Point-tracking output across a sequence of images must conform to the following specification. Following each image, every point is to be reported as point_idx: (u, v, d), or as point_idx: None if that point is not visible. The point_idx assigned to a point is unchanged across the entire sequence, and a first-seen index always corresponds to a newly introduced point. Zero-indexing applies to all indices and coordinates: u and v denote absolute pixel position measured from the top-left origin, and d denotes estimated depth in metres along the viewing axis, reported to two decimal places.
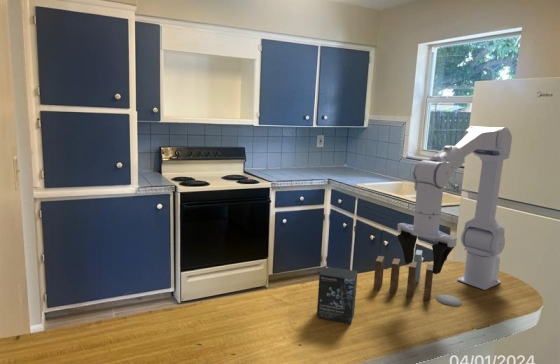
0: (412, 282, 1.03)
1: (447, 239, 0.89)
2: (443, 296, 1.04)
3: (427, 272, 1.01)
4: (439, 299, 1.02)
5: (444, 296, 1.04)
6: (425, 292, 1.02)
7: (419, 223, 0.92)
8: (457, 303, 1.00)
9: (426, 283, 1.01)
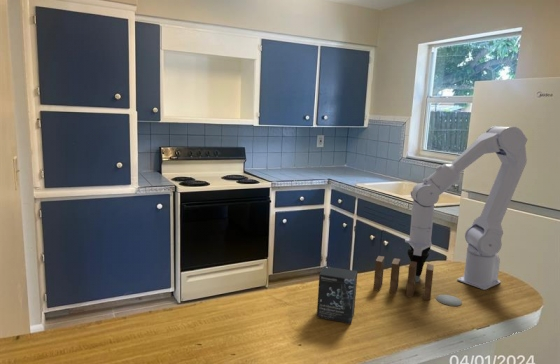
0: (412, 282, 1.03)
1: (413, 248, 1.08)
2: (443, 296, 1.04)
3: (427, 272, 1.01)
4: (439, 299, 1.02)
5: (444, 296, 1.04)
6: (425, 292, 1.02)
7: (410, 232, 1.14)
8: (457, 303, 1.00)
9: (426, 283, 1.01)
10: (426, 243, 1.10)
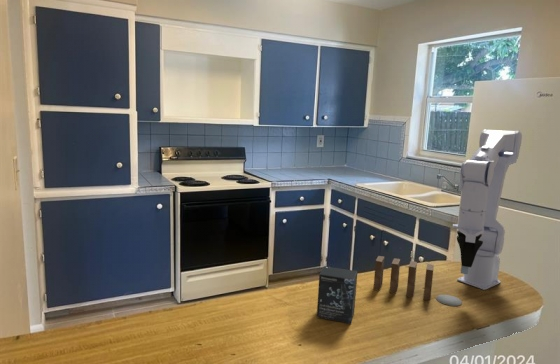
0: (412, 282, 1.03)
1: (465, 234, 0.93)
2: (443, 296, 1.04)
3: (427, 272, 1.01)
4: (439, 299, 1.02)
5: (444, 296, 1.04)
6: (425, 292, 1.02)
7: None
8: (457, 303, 1.00)
9: (426, 283, 1.01)
10: (479, 229, 0.96)
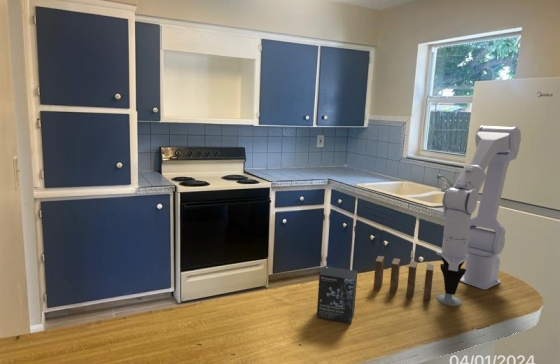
0: (412, 282, 1.03)
1: (448, 262, 0.95)
2: (443, 296, 1.04)
3: (427, 272, 1.01)
4: (439, 299, 1.02)
5: (444, 296, 1.04)
6: (425, 292, 1.02)
7: None
8: (457, 303, 1.00)
9: (426, 283, 1.01)
10: (462, 256, 0.97)
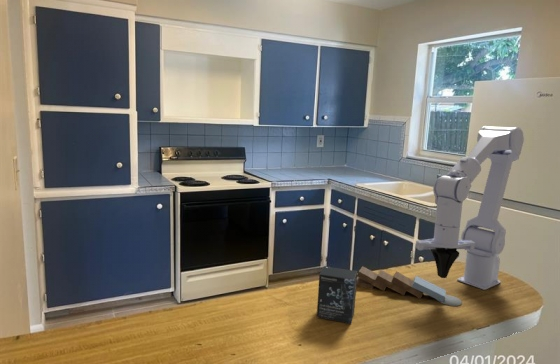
0: (391, 284, 1.05)
1: None
2: None
3: (394, 282, 1.04)
4: None
5: None
6: (413, 293, 1.03)
7: None
8: (457, 303, 1.00)
9: (405, 288, 1.03)
10: (441, 242, 0.98)
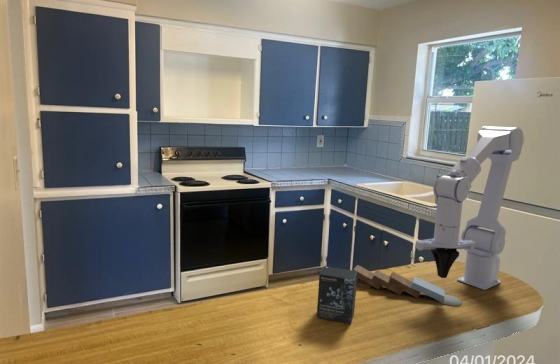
0: (387, 283, 1.05)
1: None
2: None
3: (391, 282, 1.04)
4: None
5: None
6: (411, 293, 1.03)
7: None
8: (457, 303, 1.00)
9: (402, 288, 1.03)
10: (441, 242, 0.98)
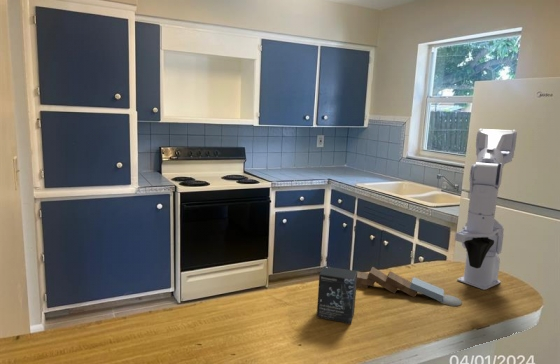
0: (383, 281, 1.05)
1: None
2: (443, 296, 1.04)
3: (388, 282, 1.05)
4: None
5: (444, 296, 1.04)
6: (408, 292, 1.03)
7: None
8: (457, 303, 1.00)
9: (399, 287, 1.04)
10: (480, 232, 0.94)
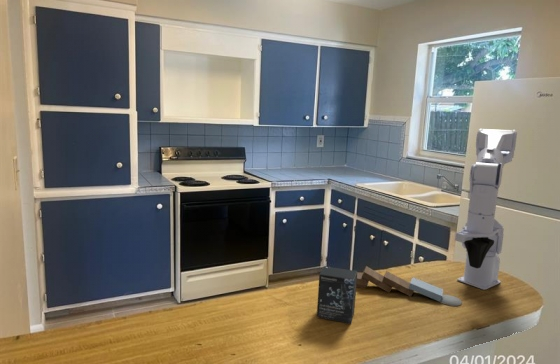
0: (377, 281, 1.06)
1: None
2: (443, 296, 1.04)
3: (385, 281, 1.05)
4: None
5: (444, 296, 1.04)
6: (404, 292, 1.04)
7: None
8: (457, 303, 1.00)
9: (395, 287, 1.04)
10: (480, 232, 0.94)
